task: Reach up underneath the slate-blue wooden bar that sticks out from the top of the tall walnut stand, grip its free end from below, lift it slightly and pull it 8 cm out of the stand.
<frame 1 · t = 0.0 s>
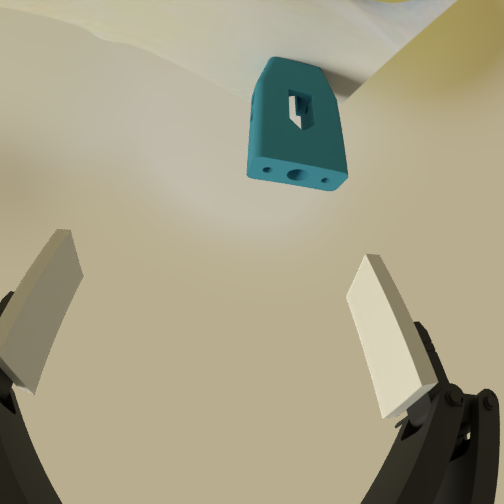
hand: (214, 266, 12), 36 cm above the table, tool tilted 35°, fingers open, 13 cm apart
block: (292, 71, 40), on the table
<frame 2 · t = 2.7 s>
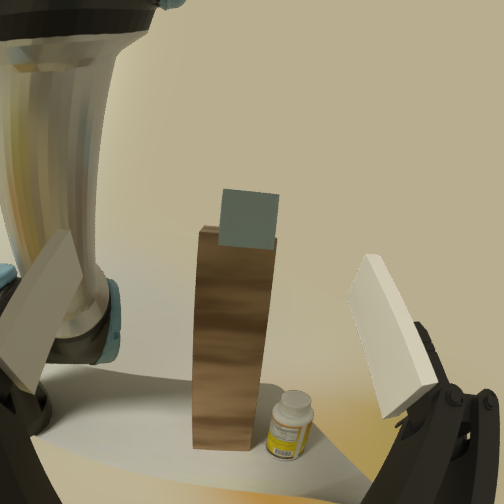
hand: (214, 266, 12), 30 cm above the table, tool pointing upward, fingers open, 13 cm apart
bar: (237, 233, 32), point 30 cm above the table, touching walnut stand
walnut stand: (220, 428, 39), on the table
supplement bottle: (283, 450, 36), on the table
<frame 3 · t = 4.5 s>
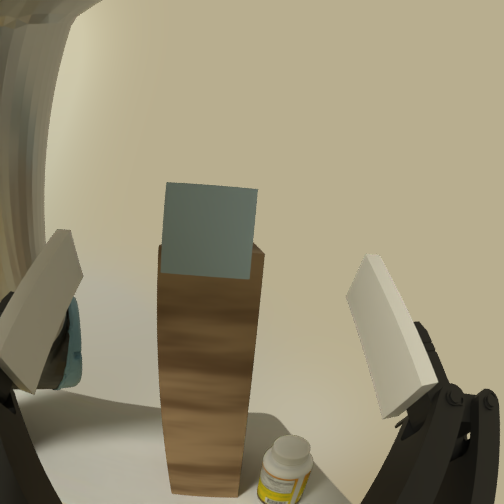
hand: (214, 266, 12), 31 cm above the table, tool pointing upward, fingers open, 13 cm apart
bar: (212, 246, 24), point 30 cm above the table, touching walnut stand
walnut stand: (204, 469, 31), on the table
supplement bottle: (278, 496, 27), on the table
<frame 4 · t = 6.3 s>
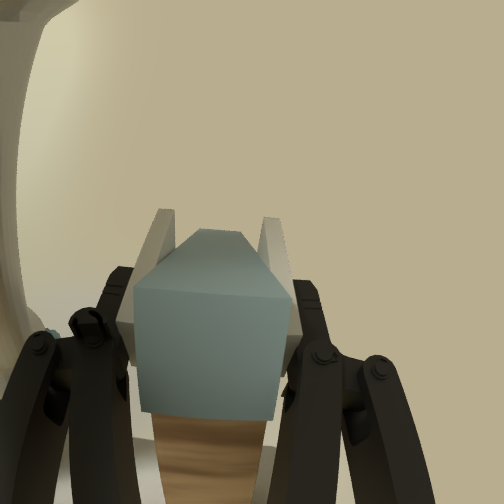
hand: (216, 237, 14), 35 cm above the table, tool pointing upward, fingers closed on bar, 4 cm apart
bar: (213, 305, 19), point 30 cm above the table, touching gripper, walnut stand
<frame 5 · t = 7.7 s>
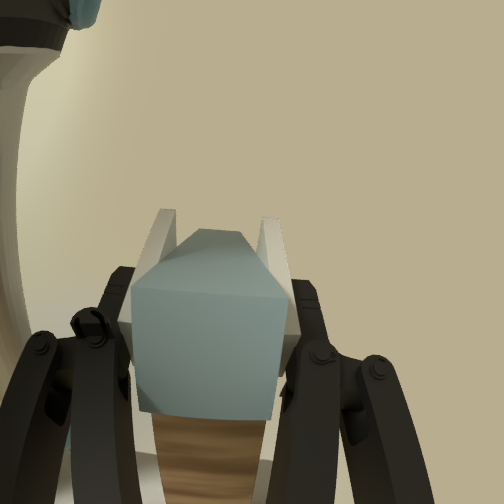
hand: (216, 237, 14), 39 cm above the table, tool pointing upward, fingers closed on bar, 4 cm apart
bar: (213, 305, 19), point 34 cm above the table, touching gripper
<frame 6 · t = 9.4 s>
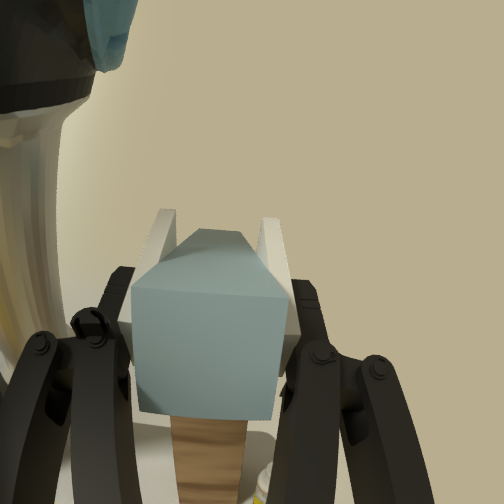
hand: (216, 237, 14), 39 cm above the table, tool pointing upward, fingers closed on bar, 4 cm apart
bar: (213, 305, 19), point 34 cm above the table, touching gripper
walnut stand: (208, 483, 34), on the table
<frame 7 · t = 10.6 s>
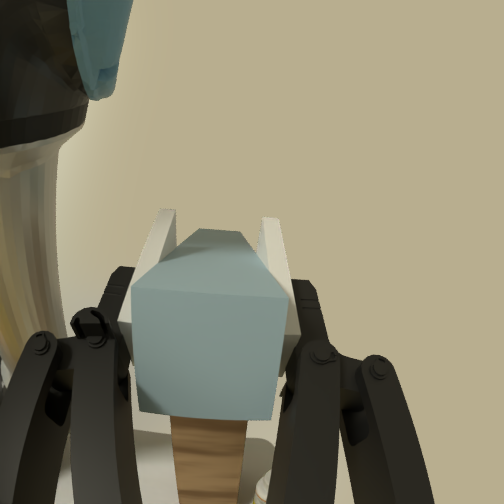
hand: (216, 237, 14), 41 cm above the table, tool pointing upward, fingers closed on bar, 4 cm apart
bar: (213, 305, 19), point 36 cm above the table, touching gripper
walnut stand: (207, 489, 34), on the table
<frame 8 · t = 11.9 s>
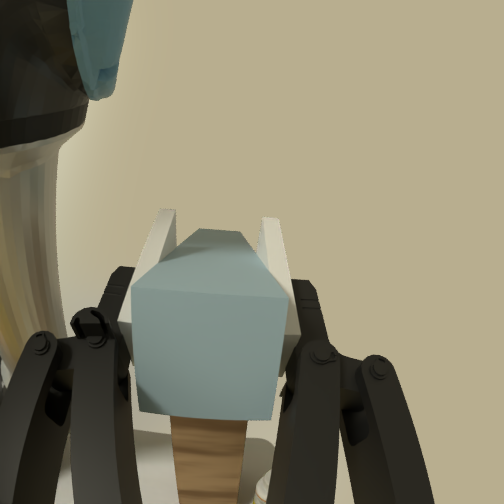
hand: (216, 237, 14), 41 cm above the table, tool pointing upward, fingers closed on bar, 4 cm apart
bar: (213, 305, 19), point 36 cm above the table, touching gripper
walnut stand: (207, 489, 34), on the table
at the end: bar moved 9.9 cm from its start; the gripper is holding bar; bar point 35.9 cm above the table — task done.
